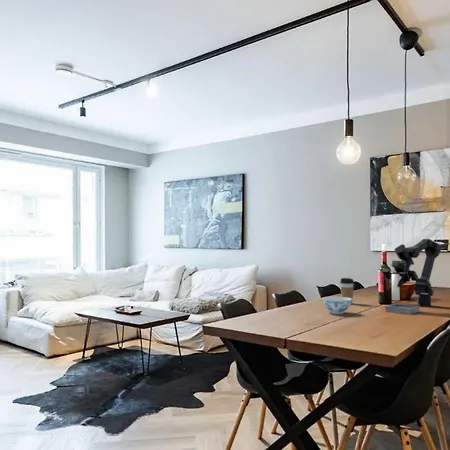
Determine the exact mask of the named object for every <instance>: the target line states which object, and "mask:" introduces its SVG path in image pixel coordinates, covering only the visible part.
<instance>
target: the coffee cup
mask: <svg viewBox="0 0 450 450" xmlns="http://www.w3.org/2000/svg"><path fill="white" fill-rule="evenodd" d="M339 283H340V294H341V296H340V297H347V298H351V299H352V301H351V304H350V305H353V299H354V298H353V297H354V288H355V287H354V284H355V281H354V279H353V278H351V277H350V278H348V277H347V278H346V277H343V278H340V282H339Z"/></svg>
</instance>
